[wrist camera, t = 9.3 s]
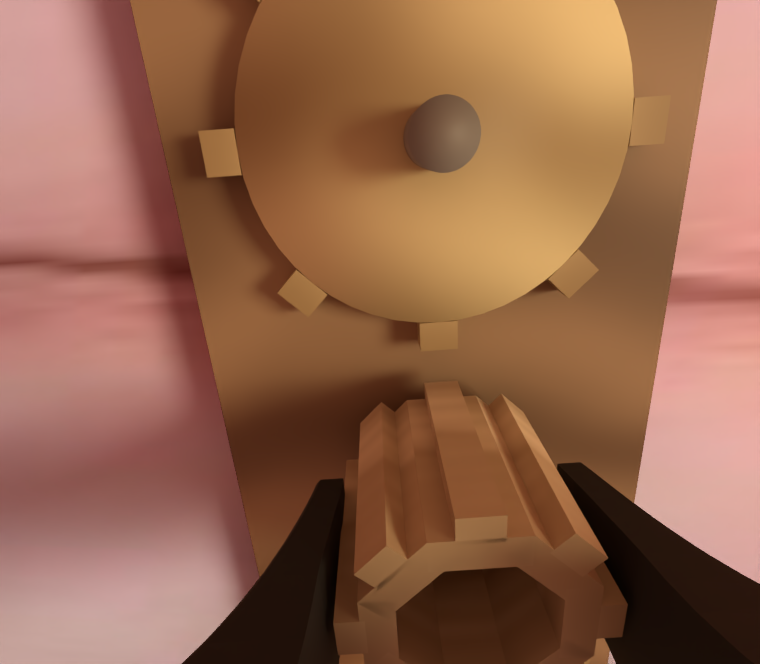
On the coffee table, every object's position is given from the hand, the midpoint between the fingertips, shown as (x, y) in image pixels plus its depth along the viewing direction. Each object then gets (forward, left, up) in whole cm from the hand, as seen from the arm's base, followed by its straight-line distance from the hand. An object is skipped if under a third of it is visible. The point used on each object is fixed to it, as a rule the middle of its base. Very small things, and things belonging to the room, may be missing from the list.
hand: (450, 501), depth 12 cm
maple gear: (0, 0, -1) cm, 1 cm away
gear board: (0, 0, -4) cm, 4 cm away
